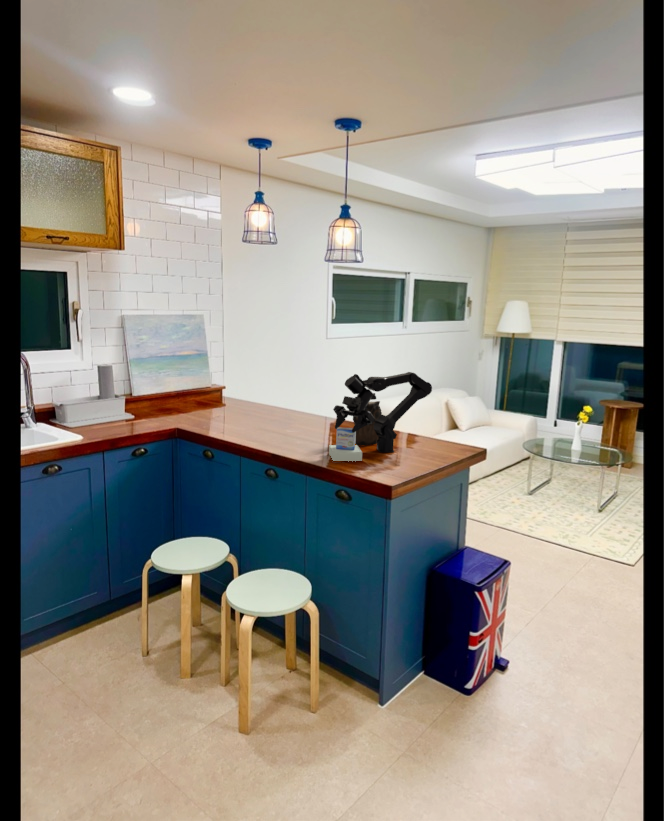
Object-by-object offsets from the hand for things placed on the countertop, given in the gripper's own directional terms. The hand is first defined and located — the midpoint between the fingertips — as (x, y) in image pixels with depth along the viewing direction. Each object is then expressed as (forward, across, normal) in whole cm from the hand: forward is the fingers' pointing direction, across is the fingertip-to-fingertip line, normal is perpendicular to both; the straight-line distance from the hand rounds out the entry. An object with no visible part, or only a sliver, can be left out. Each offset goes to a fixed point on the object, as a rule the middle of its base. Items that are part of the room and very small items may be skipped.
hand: (343, 430), depth 234 cm
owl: (-12, -12, +30) cm, 34 cm away
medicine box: (+5, 0, +7) cm, 8 cm away
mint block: (+8, 0, +10) cm, 12 cm away
